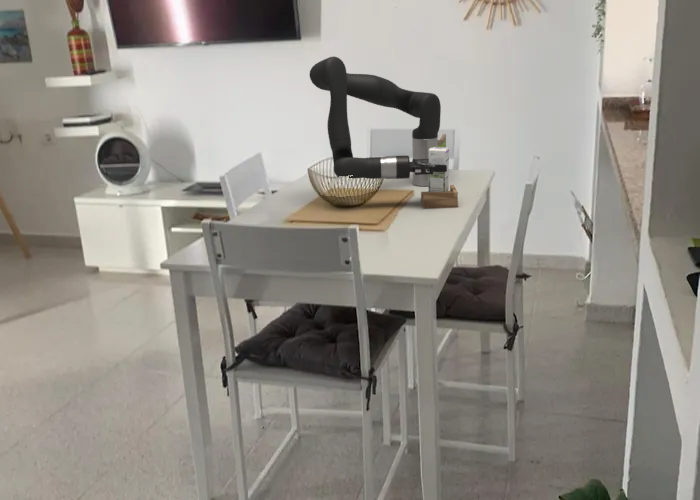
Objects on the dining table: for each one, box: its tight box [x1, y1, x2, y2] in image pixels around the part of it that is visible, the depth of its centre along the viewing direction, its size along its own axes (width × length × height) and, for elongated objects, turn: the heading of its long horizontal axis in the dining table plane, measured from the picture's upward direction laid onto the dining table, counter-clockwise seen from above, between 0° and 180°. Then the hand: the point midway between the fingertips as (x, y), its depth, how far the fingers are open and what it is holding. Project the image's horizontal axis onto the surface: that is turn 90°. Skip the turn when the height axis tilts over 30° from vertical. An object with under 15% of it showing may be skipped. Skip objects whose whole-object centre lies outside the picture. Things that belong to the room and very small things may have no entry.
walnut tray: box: [420, 184, 459, 209], centre depth 247 cm, size 11×11×5 cm
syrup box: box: [428, 146, 450, 192], centre depth 244 cm, size 6×6×14 cm
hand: (445, 165), depth 243 cm, fingers closed on syrup box, 7 cm apart
